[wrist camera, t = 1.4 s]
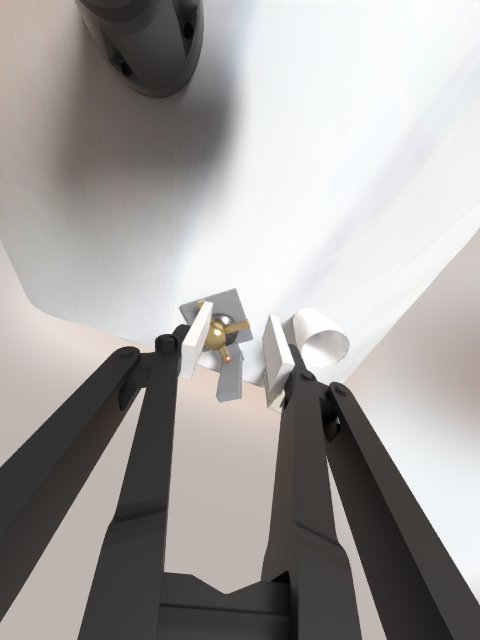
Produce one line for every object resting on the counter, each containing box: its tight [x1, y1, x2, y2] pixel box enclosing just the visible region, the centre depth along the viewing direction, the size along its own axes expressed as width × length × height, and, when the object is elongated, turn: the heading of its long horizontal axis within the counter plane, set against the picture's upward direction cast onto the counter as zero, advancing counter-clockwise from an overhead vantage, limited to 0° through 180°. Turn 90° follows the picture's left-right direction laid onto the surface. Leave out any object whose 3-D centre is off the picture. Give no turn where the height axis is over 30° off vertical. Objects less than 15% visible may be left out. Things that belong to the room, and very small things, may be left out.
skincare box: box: [263, 368, 285, 414], centre depth 46 cm, size 6×4×12 cm
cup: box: [293, 308, 349, 367], centre depth 39 cm, size 9×9×12 cm
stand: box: [180, 288, 253, 402], centre depth 40 cm, size 20×14×14 cm
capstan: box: [197, 299, 250, 363], centre depth 41 cm, size 17×16×7 cm
